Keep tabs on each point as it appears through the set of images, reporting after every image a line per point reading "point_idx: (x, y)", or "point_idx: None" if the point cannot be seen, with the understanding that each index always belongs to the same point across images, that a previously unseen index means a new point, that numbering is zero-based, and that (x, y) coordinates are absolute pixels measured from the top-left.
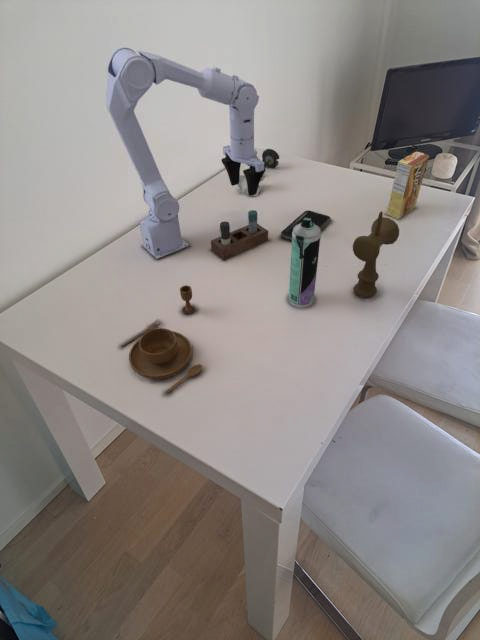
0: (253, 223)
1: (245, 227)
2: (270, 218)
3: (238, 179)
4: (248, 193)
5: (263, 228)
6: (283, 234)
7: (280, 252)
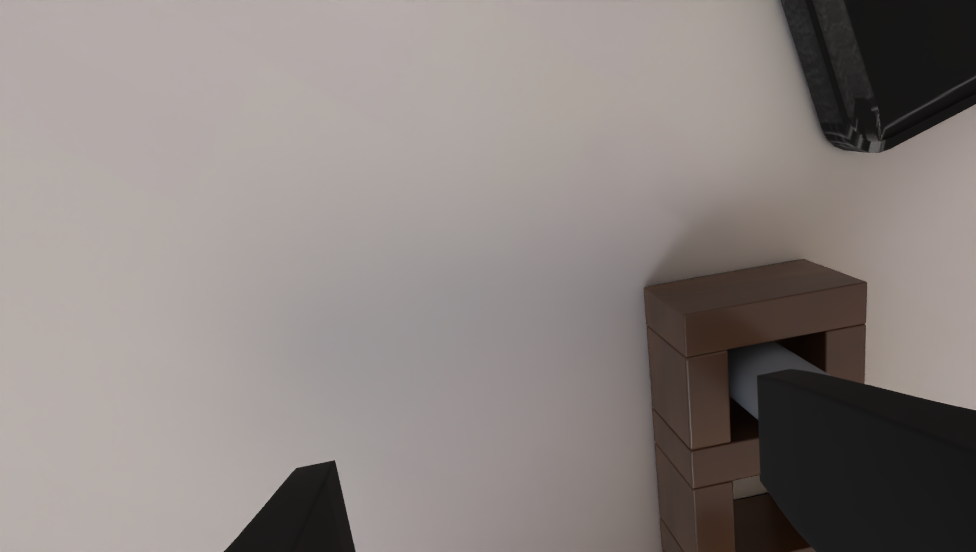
0: None
1: (710, 426)
2: (527, 43)
3: (326, 503)
4: (784, 505)
5: (815, 300)
6: (886, 141)
7: (970, 258)
